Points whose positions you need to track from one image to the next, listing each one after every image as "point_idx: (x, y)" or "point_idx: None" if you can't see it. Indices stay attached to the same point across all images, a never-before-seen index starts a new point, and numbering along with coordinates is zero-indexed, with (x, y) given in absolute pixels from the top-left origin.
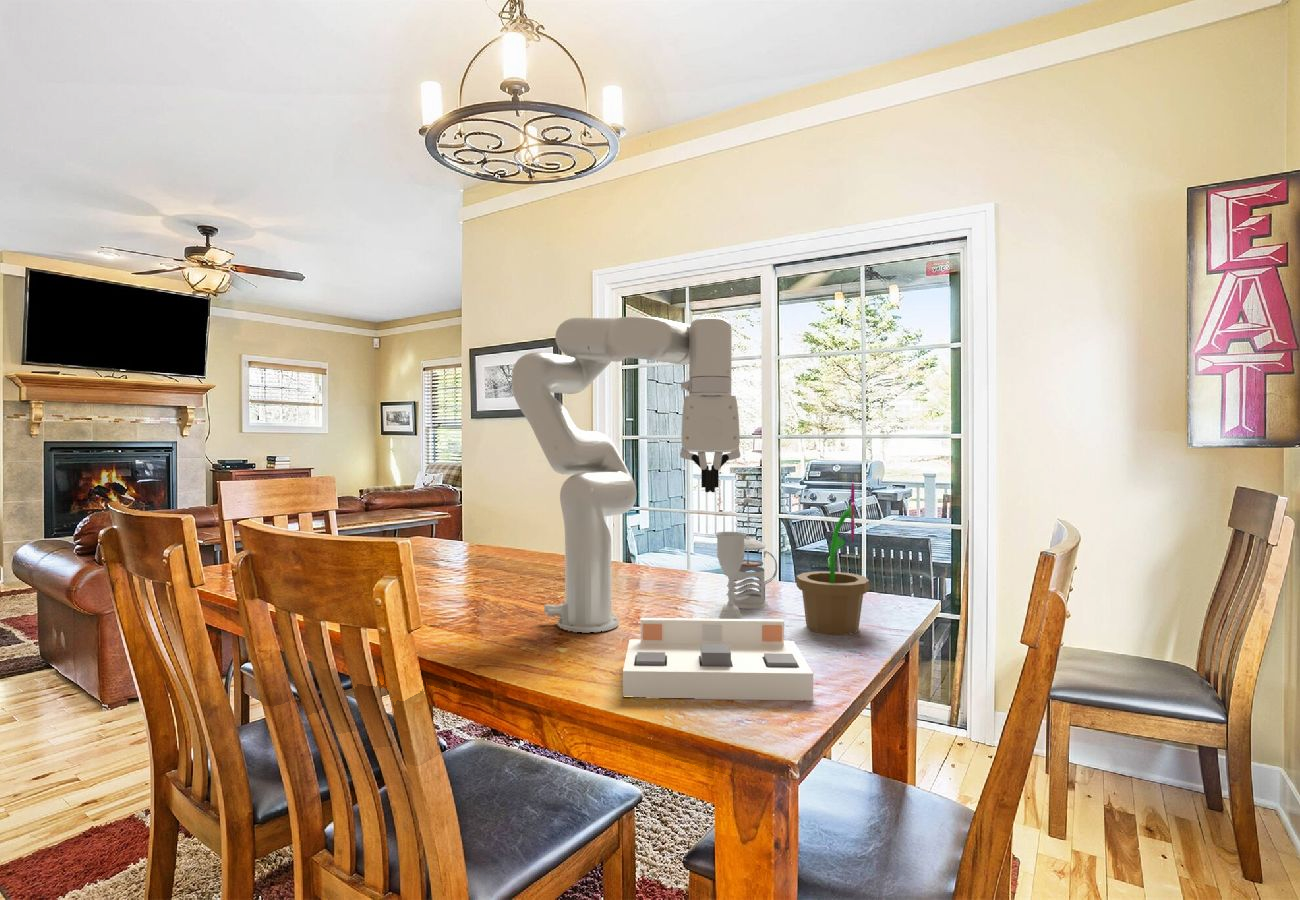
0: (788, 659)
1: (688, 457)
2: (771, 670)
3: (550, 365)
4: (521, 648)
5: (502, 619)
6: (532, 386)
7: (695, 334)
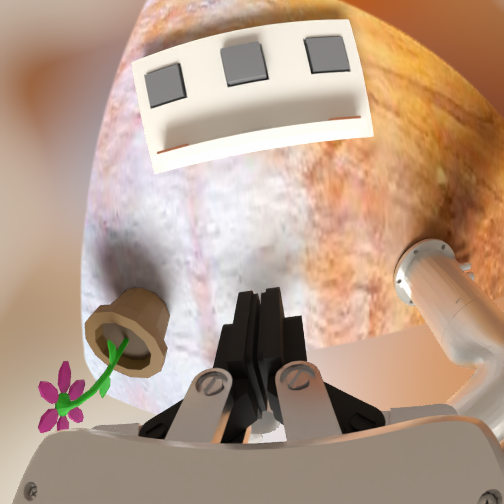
0: (154, 83)
1: (403, 418)
2: (174, 53)
3: None
4: (475, 176)
5: (494, 272)
6: None
7: None
